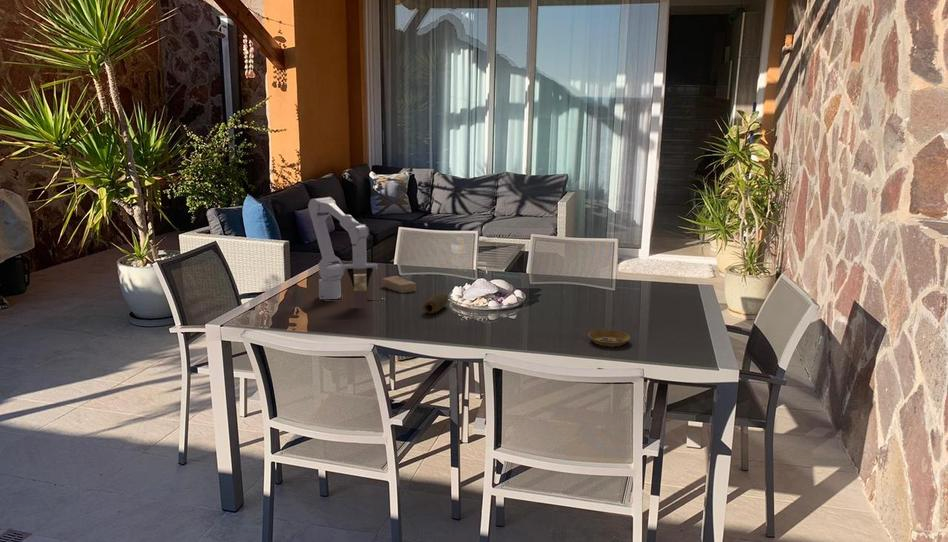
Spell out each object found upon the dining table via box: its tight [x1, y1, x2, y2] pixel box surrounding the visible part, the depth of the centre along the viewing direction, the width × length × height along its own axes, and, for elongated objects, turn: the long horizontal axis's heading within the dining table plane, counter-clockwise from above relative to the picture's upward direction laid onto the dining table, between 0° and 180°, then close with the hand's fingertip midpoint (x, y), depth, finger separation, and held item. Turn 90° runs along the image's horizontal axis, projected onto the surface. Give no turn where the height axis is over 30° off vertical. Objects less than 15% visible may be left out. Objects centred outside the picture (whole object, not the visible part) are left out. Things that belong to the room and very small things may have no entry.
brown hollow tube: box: [422, 291, 449, 314], centre depth 303 cm, size 15×7×7 cm, turn 165°
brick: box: [382, 275, 417, 294], centre depth 337 cm, size 17×8×5 cm, turn 40°
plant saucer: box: [588, 329, 631, 348], centre depth 265 cm, size 15×15×3 cm
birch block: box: [353, 273, 368, 292], centre depth 306 cm, size 5×5×6 cm
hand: (360, 286), depth 306 cm, fingers closed on birch block, 5 cm apart
